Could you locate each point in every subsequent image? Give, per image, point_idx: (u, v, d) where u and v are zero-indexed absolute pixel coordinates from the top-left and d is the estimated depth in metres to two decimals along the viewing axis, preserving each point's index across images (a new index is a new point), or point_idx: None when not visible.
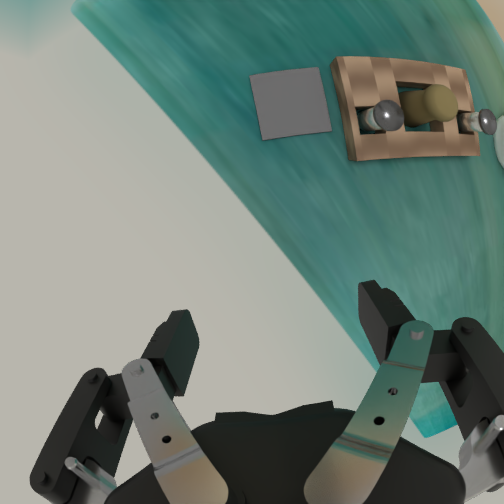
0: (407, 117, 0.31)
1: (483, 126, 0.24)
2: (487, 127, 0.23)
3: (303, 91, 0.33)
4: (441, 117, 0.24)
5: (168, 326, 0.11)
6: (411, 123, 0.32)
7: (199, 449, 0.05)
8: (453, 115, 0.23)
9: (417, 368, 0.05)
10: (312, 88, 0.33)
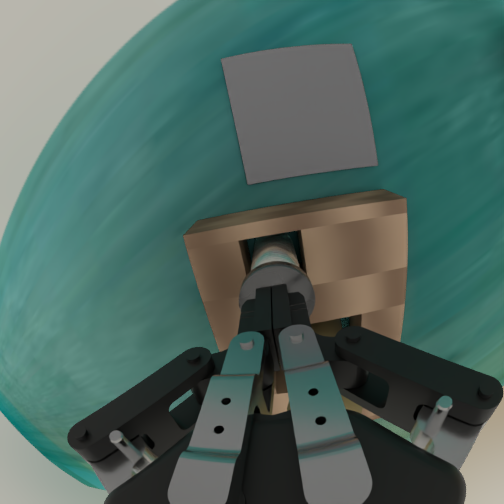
0: None
1: None
2: None
3: (326, 130, 0.18)
4: None
5: (260, 301, 0.12)
6: None
7: (235, 456, 0.04)
8: None
9: (321, 364, 0.07)
10: (334, 148, 0.18)
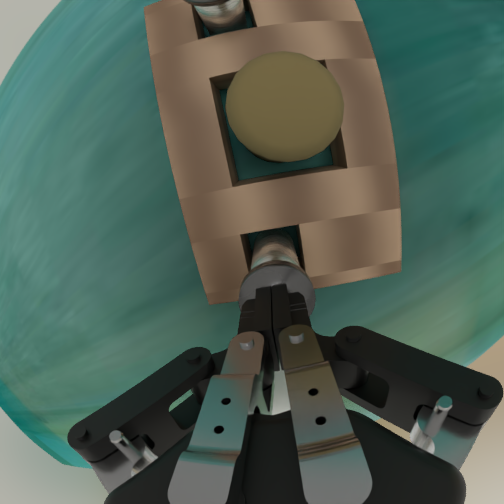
0: None
1: (254, 274, 0.13)
2: None
3: None
4: (230, 87, 0.10)
5: (260, 301, 0.12)
6: None
7: (235, 456, 0.04)
8: (246, 124, 0.10)
9: (321, 364, 0.07)
10: None
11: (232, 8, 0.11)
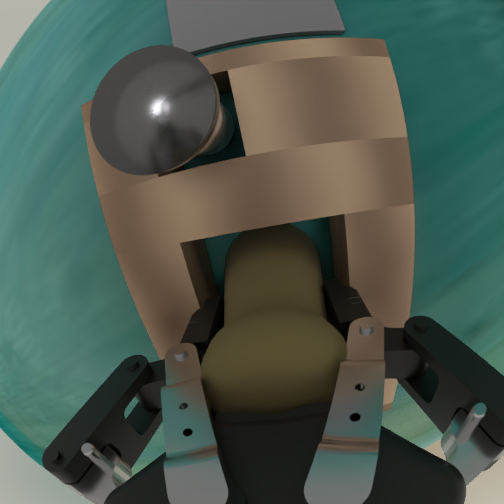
0: (236, 258, 0.14)
1: None
2: None
3: None
4: None
5: (206, 312, 0.11)
6: (225, 270, 0.15)
7: (215, 450, 0.04)
8: None
9: (378, 361, 0.06)
10: (284, 11, 0.11)
11: None
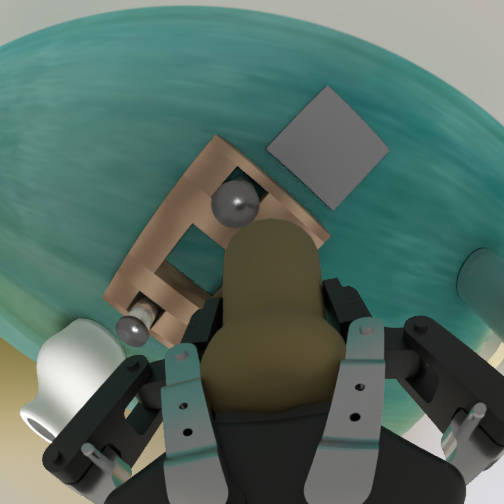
0: (234, 255, 0.14)
1: (131, 320, 0.26)
2: (127, 325, 0.26)
3: (328, 168, 0.28)
4: None
5: (206, 312, 0.11)
6: (224, 267, 0.15)
7: (215, 450, 0.04)
8: None
9: (378, 361, 0.06)
10: (322, 180, 0.28)
11: None
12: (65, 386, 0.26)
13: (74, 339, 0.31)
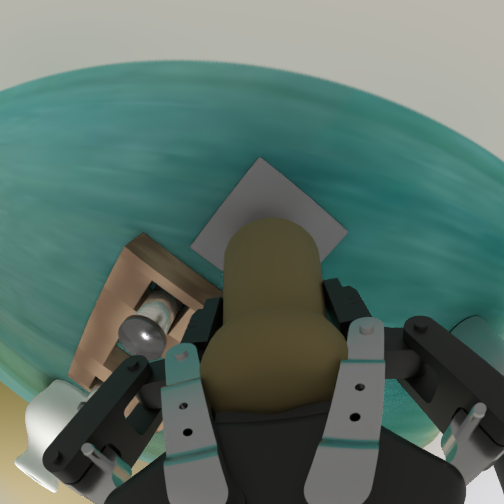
0: (234, 254, 0.14)
1: None
2: None
3: None
4: None
5: (206, 312, 0.11)
6: (224, 266, 0.15)
7: (215, 450, 0.04)
8: None
9: (377, 361, 0.06)
10: None
11: None
12: (48, 444, 0.23)
13: (52, 403, 0.29)
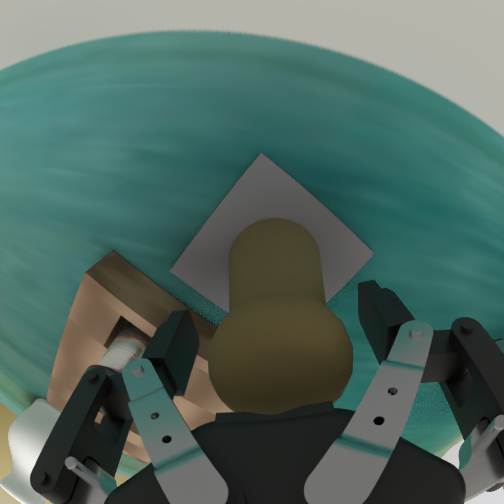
0: (240, 251, 0.15)
1: None
2: None
3: None
4: (212, 363, 0.08)
5: (168, 326, 0.11)
6: (230, 263, 0.16)
7: (199, 449, 0.05)
8: (233, 409, 0.08)
9: (416, 368, 0.05)
10: None
11: None
12: (32, 468, 0.18)
13: (34, 426, 0.23)
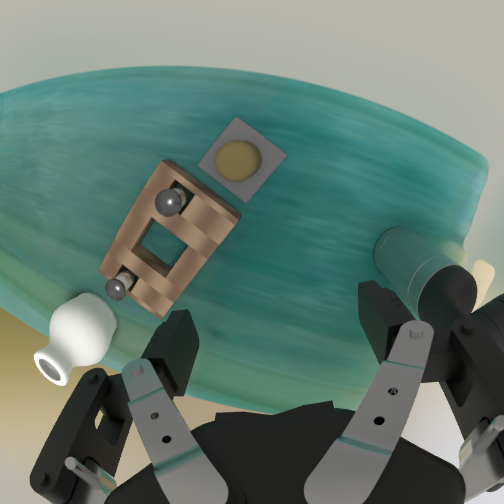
0: None
1: (114, 281, 0.40)
2: (112, 284, 0.41)
3: None
4: (216, 156, 0.31)
5: (168, 326, 0.11)
6: None
7: (199, 449, 0.05)
8: (221, 170, 0.31)
9: (417, 368, 0.05)
10: (236, 183, 0.42)
11: None
12: (69, 335, 0.41)
13: (78, 304, 0.46)
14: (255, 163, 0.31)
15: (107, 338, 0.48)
